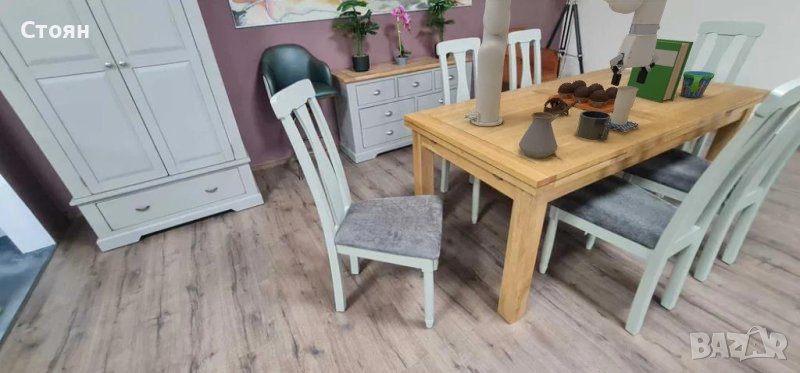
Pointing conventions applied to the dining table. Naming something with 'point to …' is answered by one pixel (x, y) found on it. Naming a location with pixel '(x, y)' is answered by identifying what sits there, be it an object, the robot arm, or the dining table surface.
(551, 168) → the dining table surface
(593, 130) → the mug
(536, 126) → the coffee pot
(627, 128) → the woven mat
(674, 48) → the hardback book
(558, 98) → the broken brown clay pot
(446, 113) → the dining table surface
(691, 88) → the snack cup
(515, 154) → the dining table surface
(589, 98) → the chocolate cupcake tray
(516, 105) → the dining table surface
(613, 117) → the paper cup
